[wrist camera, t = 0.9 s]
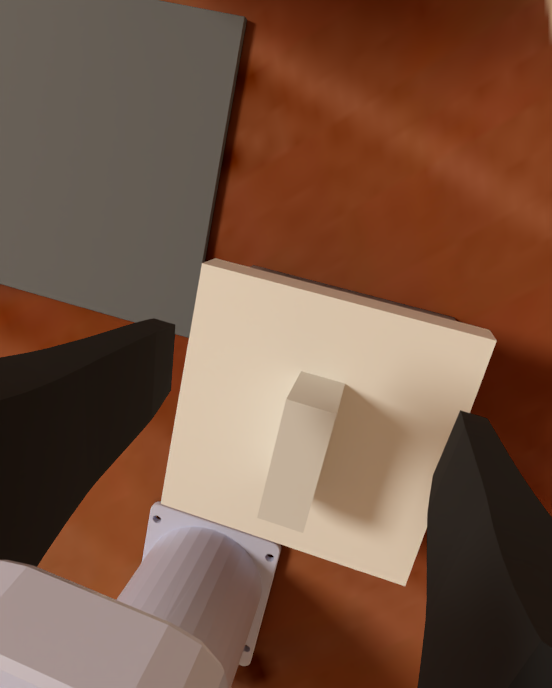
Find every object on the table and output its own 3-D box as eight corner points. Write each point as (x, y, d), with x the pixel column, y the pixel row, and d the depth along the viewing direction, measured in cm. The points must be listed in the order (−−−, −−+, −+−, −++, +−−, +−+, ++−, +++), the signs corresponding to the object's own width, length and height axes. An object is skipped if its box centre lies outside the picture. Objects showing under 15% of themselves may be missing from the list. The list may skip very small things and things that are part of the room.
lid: (404, 561, 24) (406, 642, 20) (174, 485, 26) (129, 545, 21) (489, 329, 20) (514, 367, 16) (215, 258, 22) (170, 274, 18)
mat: (192, 335, 28) (189, 337, 28) (-53, 266, 30) (-58, 267, 30) (246, 19, 23) (244, 16, 23) (-48, -37, 25) (-55, -41, 25)
